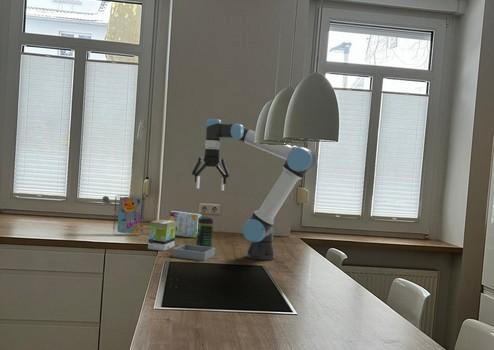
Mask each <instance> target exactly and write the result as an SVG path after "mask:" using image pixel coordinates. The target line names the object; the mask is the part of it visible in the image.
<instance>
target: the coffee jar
mask: <svg viewBox="0 0 494 350" xmlns="http://www.w3.org/2000/svg"><path fill="white" fill-rule="evenodd" d="M213 228H214V219H213V218H211V217H209V216H206V215H205V216H204V215H203V216H201V217H199V219H198V233H197V238H196V245H198V246H206V247H212V246H213V245H212V243H213V230H214V229H213Z"/></svg>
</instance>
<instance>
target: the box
mask: <svg viewBox="0 0 494 350" xmlns="http://www.w3.org/2000/svg"><path fill="white" fill-rule="evenodd" d="M117 199H118V200H117ZM102 203H103V204H105V205H109V204H110V205H112V204H113V202H111V201H110V197H108V196H107V195H104V196H103V197H102ZM145 203H146V202H145V196H142V195H139V197H137V196H135V195H134V194H133V195H132V194H131V195H129V194H126V195H125V194H117V196H115V198H114V214H113V215H114V216H113V225H112V226H113V227H112V230H113V235H115V236H116V237H117V236H118V234H117V233H119V234H120V236H123V234H128V236H134V237H137V236H138V237H139V234H135V233H140V235H142V234H143V232H144V231H143V230H144V229H141V228H143V226H144V220H145V219H144V217H145V216H144V211H145V205H146V204H145ZM116 212H117V214H116ZM116 219H117V222H116ZM115 228H116V231H117V233H116V231H115ZM140 229H141V232H140ZM115 233H116V234H115Z"/></svg>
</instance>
